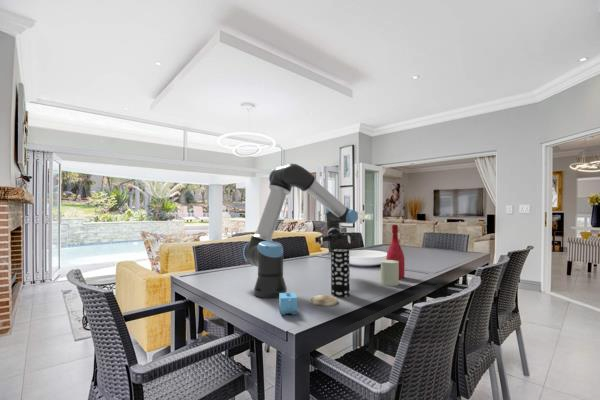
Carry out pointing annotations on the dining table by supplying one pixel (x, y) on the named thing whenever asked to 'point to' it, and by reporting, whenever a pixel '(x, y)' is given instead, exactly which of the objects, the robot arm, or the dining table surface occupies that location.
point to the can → (389, 272)
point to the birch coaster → (324, 300)
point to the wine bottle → (396, 251)
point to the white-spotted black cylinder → (340, 273)
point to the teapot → (288, 303)
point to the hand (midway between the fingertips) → (335, 241)
